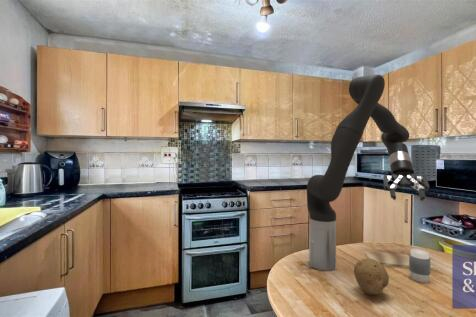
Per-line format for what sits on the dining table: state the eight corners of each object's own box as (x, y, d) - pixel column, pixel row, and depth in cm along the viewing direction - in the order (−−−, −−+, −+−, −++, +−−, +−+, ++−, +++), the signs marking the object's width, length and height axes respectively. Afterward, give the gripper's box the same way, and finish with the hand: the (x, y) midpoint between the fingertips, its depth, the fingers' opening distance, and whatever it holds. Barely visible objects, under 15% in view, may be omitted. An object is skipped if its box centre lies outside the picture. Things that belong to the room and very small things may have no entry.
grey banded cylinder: (413, 282, 78) (413, 254, 78) (406, 274, 84) (406, 247, 84) (434, 284, 77) (434, 255, 77) (425, 275, 83) (425, 249, 83)
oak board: (372, 264, 91) (372, 262, 91) (364, 253, 102) (364, 251, 102) (434, 270, 86) (434, 267, 86) (419, 258, 97) (419, 255, 97)
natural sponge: (368, 282, 78) (368, 251, 78) (396, 297, 70) (396, 262, 70) (347, 288, 74) (347, 256, 74) (373, 305, 66) (373, 268, 66)
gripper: (381, 159, 100) (386, 193, 90) (424, 158, 95) (434, 193, 85) (380, 170, 105) (385, 203, 96) (420, 170, 100) (429, 205, 90)
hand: (408, 199), depth 90 cm, fingers open, 8 cm apart
